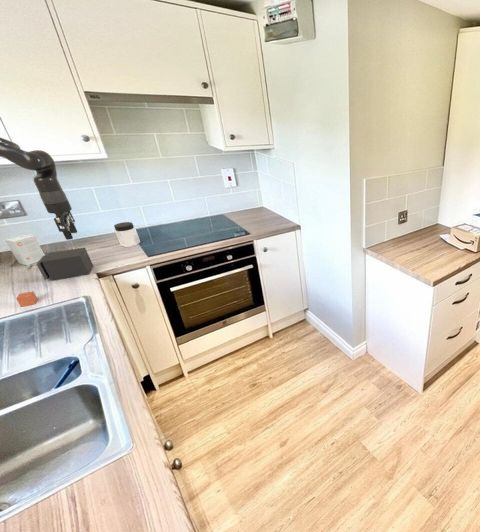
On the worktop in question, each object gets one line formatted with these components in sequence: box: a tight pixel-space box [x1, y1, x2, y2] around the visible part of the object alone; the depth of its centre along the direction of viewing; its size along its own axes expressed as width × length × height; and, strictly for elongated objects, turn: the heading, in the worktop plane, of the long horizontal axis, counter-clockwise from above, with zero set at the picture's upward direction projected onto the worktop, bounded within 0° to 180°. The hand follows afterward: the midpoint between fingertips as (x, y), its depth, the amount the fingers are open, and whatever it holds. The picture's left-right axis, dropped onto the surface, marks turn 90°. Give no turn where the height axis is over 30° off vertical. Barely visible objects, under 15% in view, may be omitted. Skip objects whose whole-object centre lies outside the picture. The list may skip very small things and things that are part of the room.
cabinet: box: [42, 247, 94, 282], centre depth 150 cm, size 13×11×10 cm
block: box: [15, 290, 39, 307], centre depth 129 cm, size 4×4×4 cm
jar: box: [113, 221, 141, 248], centre depth 180 cm, size 9×8×12 cm
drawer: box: [23, 255, 50, 280], centre depth 147 cm, size 17×10×8 cm, turn 122°
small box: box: [5, 233, 46, 267], centre depth 158 cm, size 8×6×13 cm
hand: (72, 235), depth 143 cm, fingers open, 8 cm apart
